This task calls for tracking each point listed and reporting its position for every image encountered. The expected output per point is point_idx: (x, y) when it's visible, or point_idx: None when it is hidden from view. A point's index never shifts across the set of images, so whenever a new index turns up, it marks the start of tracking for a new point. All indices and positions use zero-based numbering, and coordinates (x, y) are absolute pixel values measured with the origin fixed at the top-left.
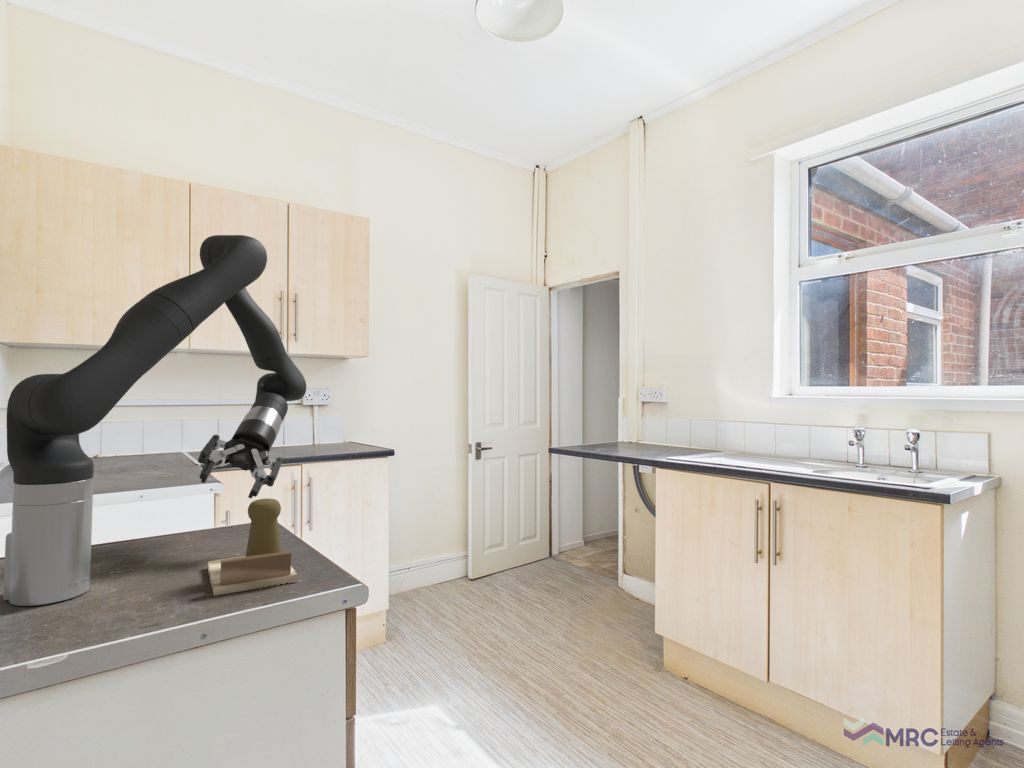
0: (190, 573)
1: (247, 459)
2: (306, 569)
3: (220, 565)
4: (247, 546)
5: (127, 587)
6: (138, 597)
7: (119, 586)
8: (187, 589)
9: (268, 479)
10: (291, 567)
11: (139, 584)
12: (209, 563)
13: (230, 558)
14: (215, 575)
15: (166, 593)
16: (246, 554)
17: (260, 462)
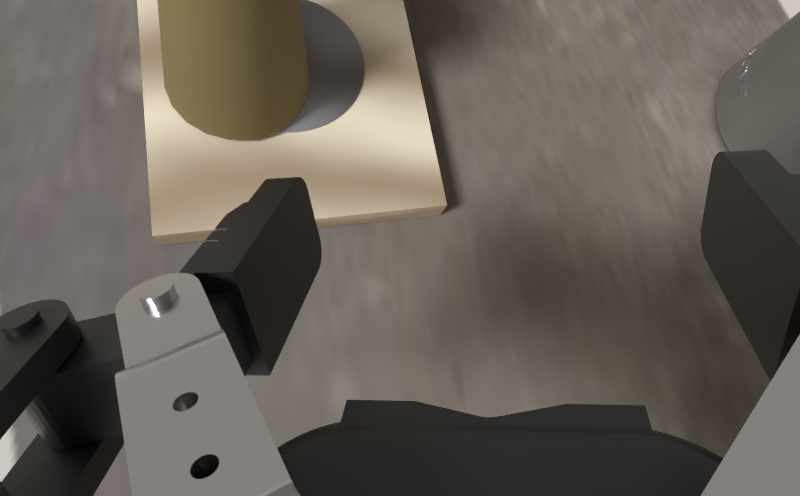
0: (486, 179)
1: (398, 470)
2: (80, 57)
3: (394, 132)
4: (302, 26)
5: (628, 116)
6: (571, 22)
7: (653, 134)
8: (462, 28)
9: (103, 321)
10: (140, 3)
11: (606, 129)
12: (436, 173)
13: (366, 211)
14: (397, 32)
15: (510, 21)
16: (304, 40)
17: (154, 401)
